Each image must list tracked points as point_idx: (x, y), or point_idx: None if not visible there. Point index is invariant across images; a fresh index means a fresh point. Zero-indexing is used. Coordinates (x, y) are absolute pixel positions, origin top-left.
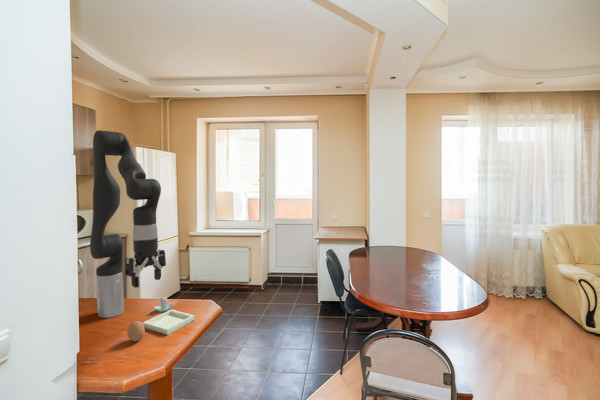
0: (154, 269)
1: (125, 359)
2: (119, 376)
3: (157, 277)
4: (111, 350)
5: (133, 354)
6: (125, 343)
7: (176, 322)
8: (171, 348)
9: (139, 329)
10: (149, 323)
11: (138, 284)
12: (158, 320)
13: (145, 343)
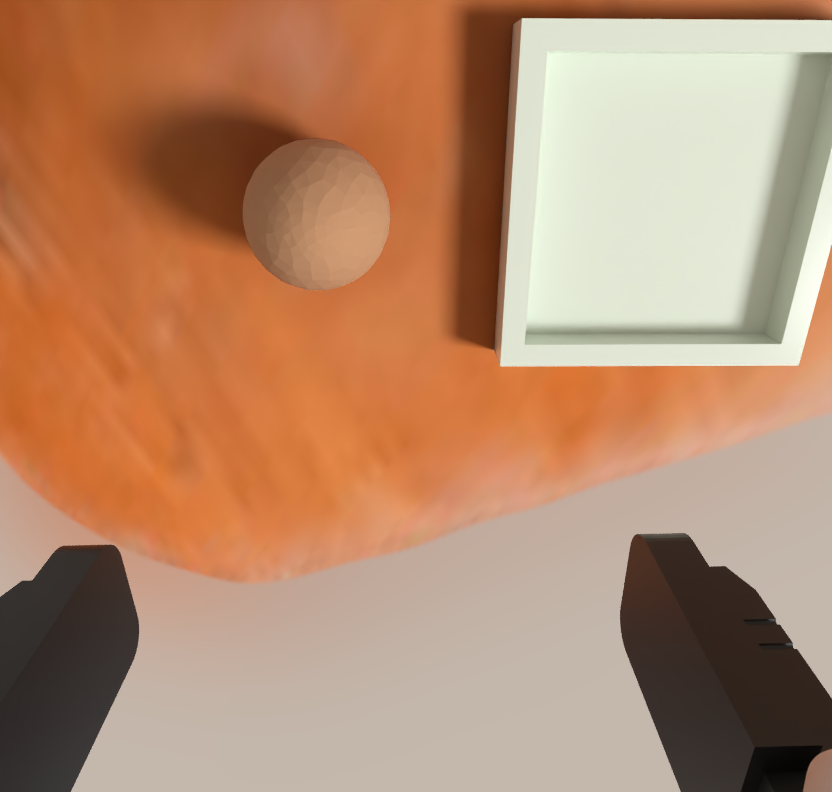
0: (751, 749)
1: (141, 366)
2: (40, 485)
3: (642, 642)
4: (134, 159)
5: (204, 358)
6: (254, 158)
7: (680, 264)
8: (378, 503)
9: (306, 288)
10: (532, 110)
11: (101, 695)
12: (667, 60)
13: (336, 305)
